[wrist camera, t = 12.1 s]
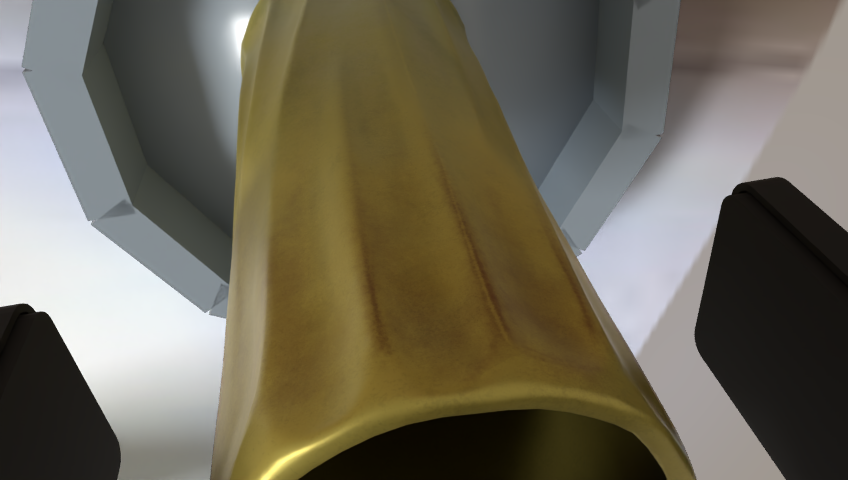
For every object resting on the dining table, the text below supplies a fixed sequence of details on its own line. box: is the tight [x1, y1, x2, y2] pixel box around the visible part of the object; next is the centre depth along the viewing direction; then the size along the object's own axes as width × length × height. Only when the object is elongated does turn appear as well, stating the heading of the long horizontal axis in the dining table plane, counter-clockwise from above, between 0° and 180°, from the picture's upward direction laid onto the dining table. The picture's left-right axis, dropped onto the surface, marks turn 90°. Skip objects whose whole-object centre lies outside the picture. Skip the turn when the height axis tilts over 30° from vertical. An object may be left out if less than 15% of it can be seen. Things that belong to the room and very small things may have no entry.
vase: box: [210, 0, 696, 480], centre depth 13 cm, size 6×6×14 cm
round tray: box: [22, 0, 681, 318], centre depth 18 cm, size 15×15×3 cm
